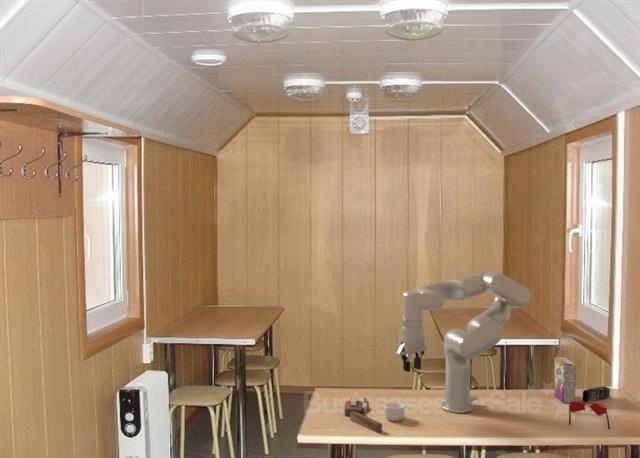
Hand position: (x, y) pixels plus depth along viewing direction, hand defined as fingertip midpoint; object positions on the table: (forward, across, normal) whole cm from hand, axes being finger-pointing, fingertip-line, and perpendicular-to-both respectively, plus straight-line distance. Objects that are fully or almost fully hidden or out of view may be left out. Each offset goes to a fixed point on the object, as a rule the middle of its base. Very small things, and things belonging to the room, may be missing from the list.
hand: (412, 369), depth 255 cm
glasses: (+18, -49, +44) cm, 68 cm away
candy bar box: (+18, -63, +24) cm, 70 cm away
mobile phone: (+18, -74, +32) cm, 83 cm away
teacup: (+18, +9, 0) cm, 20 cm away
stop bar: (+17, +23, 0) cm, 29 cm away
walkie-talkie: (+18, +14, -17) cm, 28 cm away
